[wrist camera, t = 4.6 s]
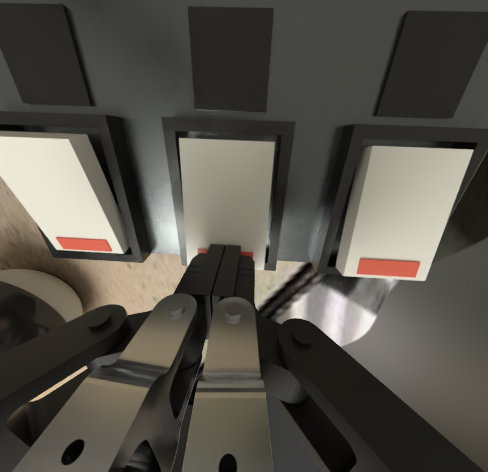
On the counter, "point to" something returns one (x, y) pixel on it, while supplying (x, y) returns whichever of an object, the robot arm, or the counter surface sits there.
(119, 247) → the rocker
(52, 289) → the pump dispenser
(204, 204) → the middle rocker
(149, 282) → the counter surface
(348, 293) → the counter surface
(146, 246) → the rocker switch box
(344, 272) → the rocker
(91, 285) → the counter surface
